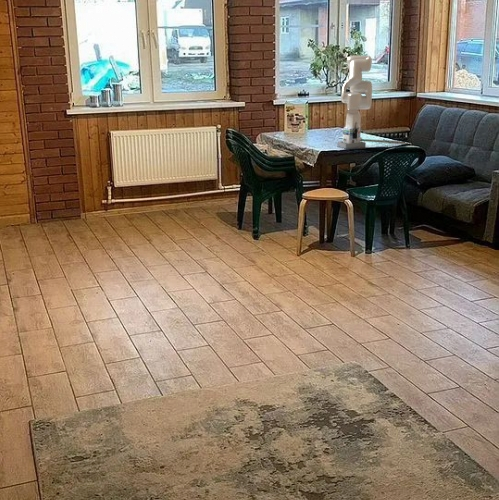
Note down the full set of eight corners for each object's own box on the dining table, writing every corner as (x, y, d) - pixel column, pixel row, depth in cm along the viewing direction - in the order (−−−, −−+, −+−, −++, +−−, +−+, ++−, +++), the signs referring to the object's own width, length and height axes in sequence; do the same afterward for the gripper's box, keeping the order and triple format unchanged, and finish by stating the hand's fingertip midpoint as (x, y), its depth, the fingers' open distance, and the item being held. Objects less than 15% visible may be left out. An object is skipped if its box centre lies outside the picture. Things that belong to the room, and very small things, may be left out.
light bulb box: (349, 144, 488) (349, 128, 485) (342, 142, 493) (343, 127, 490) (360, 142, 494) (361, 126, 491) (353, 141, 499) (354, 125, 496)
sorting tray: (337, 146, 497) (337, 141, 496) (356, 145, 502) (357, 140, 501) (345, 149, 487) (345, 144, 486) (365, 147, 492) (365, 142, 491)
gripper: (341, 110, 494) (340, 136, 499) (354, 113, 478) (353, 139, 483) (351, 110, 496) (350, 135, 502) (364, 112, 481) (362, 139, 486)
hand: (351, 137), depth 492 cm, fingers closed on light bulb box, 7 cm apart
